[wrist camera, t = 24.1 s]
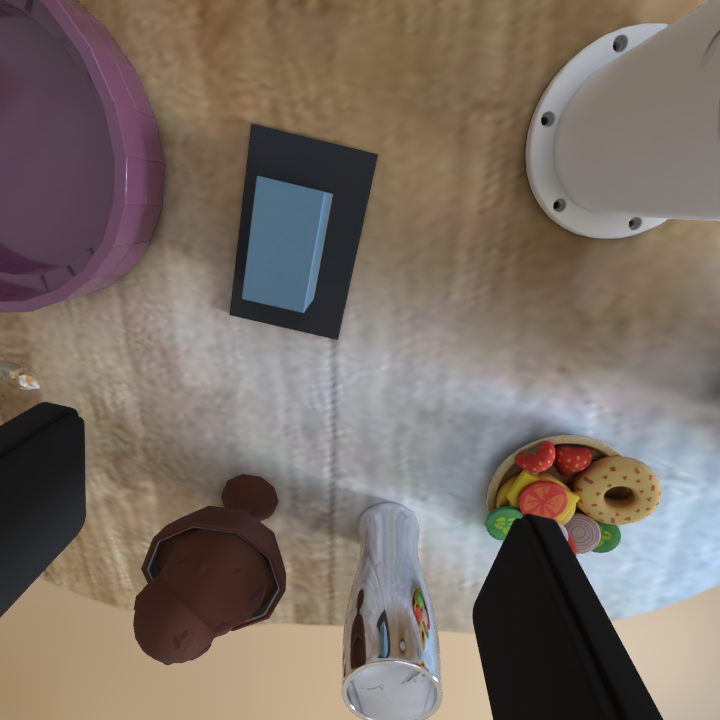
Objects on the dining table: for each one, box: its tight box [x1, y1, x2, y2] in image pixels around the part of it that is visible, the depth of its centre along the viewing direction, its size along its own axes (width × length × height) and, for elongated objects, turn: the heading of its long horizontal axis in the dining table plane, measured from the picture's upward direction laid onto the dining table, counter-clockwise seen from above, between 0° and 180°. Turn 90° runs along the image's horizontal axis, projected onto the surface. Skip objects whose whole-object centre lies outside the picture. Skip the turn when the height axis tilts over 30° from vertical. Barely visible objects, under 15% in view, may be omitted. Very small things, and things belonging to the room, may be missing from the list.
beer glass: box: [342, 503, 442, 720], centre depth 34 cm, size 7×7×15 cm
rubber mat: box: [230, 124, 378, 340], centre depth 31 cm, size 14×9×1 cm, turn 167°
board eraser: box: [242, 176, 333, 313], centre depth 29 cm, size 8×4×4 cm, turn 167°
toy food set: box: [484, 435, 661, 556], centre depth 37 cm, size 13×13×3 cm
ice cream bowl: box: [133, 474, 286, 665], centre depth 33 cm, size 11×11×15 cm
